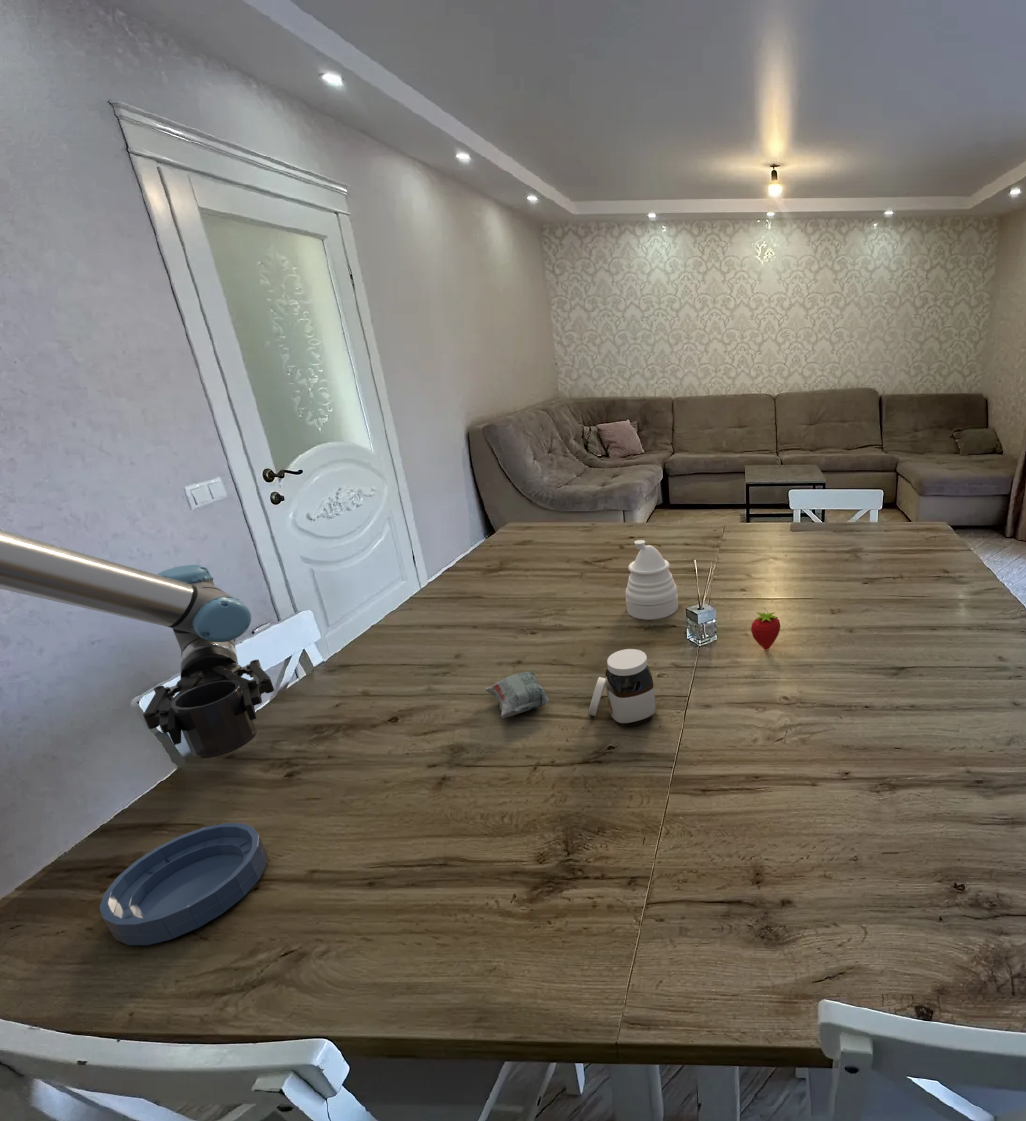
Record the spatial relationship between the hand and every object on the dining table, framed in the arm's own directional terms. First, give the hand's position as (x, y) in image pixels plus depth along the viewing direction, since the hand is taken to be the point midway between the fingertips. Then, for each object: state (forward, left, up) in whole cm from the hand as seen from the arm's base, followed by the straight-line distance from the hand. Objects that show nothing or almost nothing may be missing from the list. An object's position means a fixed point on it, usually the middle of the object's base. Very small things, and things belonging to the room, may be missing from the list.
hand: (213, 724), depth 88 cm
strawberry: (+85, +39, -10) cm, 94 cm away
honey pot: (+57, +60, -10) cm, 83 cm away
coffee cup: (-3, +4, -6) cm, 8 cm away
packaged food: (+38, +19, -10) cm, 43 cm away
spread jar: (+58, +16, -10) cm, 61 cm away
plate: (+12, -20, -10) cm, 26 cm away
